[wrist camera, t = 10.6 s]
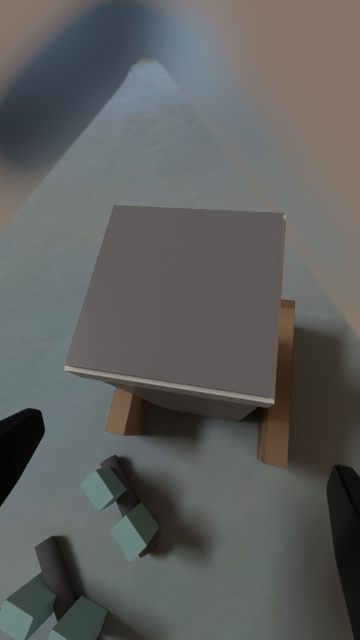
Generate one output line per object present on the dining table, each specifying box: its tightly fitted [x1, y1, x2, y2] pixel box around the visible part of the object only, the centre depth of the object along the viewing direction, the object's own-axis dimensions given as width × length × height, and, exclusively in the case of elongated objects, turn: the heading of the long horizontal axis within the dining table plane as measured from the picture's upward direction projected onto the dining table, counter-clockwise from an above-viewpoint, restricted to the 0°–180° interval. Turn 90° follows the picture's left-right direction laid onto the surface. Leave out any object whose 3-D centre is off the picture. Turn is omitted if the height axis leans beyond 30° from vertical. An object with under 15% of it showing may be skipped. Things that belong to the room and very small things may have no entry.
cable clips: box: [0, 466, 159, 640], centre depth 14 cm, size 6×14×3 cm, turn 161°
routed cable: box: [35, 455, 157, 622], centre depth 15 cm, size 13×10×1 cm
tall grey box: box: [64, 205, 286, 422], centre depth 13 cm, size 5×5×13 cm
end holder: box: [105, 299, 295, 468], centre depth 17 cm, size 8×9×4 cm
